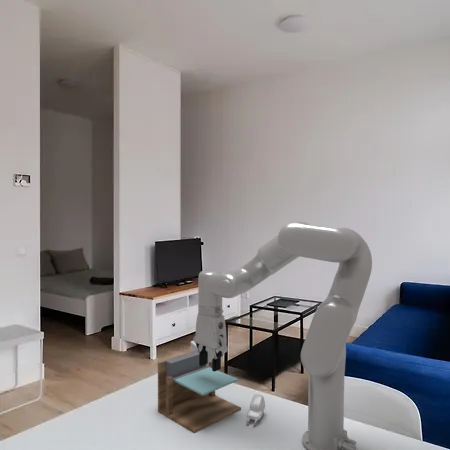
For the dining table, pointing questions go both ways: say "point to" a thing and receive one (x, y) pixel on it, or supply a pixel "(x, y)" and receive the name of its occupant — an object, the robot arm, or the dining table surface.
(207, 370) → the flap
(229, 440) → the dining table surface
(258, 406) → the power adapter
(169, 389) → the stand
